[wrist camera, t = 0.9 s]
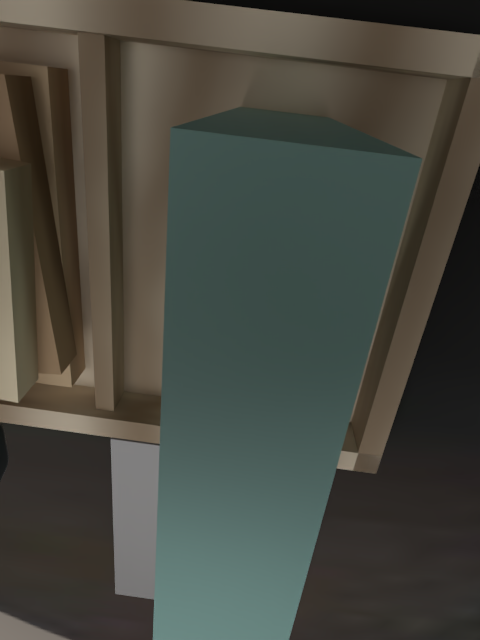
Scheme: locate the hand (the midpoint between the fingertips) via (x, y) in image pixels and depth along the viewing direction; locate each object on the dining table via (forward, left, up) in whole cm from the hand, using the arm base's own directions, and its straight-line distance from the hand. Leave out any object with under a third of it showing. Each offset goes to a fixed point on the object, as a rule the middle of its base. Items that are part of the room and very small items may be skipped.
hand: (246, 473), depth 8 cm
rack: (+4, 0, -12) cm, 12 cm away
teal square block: (0, 0, -11) cm, 11 cm away
